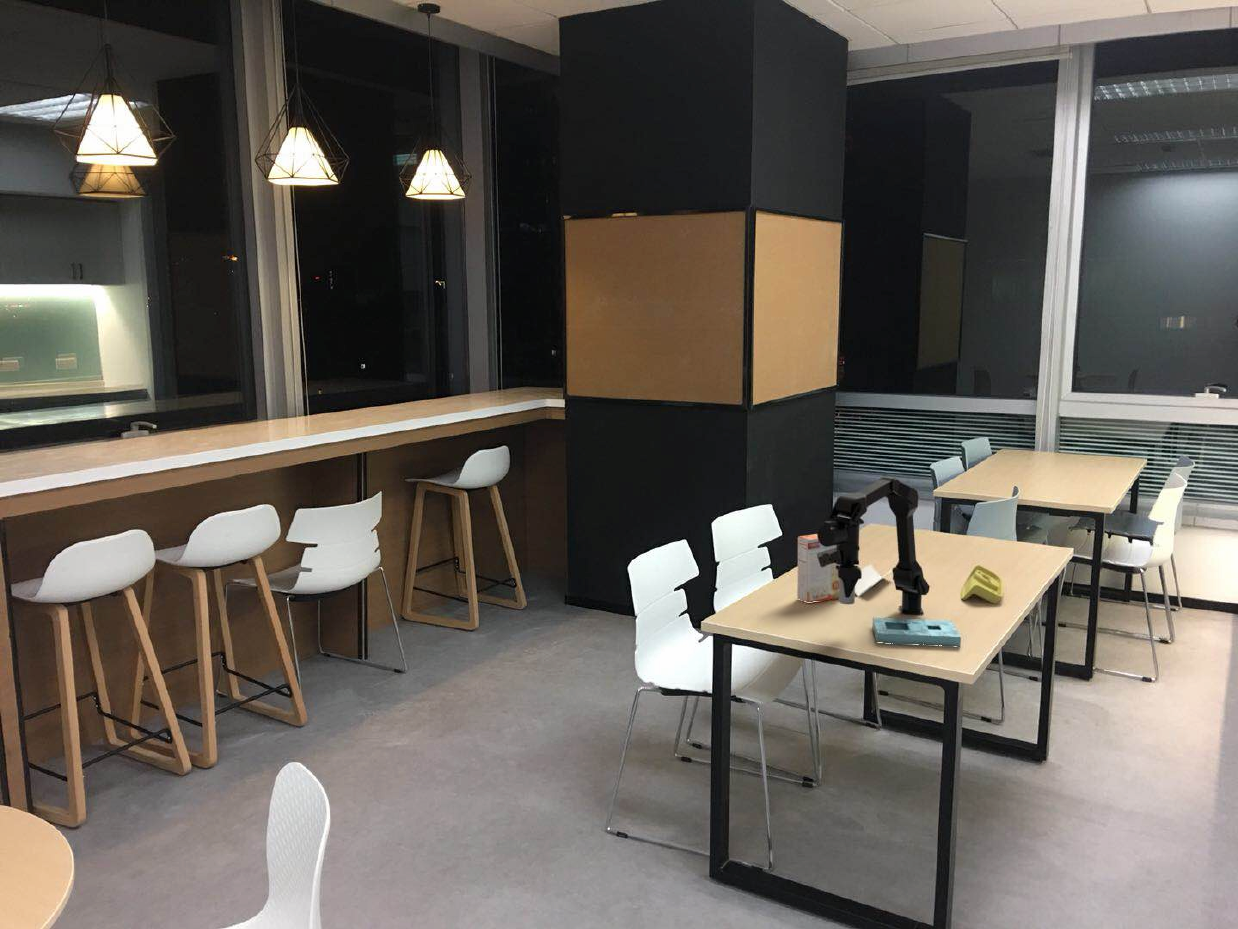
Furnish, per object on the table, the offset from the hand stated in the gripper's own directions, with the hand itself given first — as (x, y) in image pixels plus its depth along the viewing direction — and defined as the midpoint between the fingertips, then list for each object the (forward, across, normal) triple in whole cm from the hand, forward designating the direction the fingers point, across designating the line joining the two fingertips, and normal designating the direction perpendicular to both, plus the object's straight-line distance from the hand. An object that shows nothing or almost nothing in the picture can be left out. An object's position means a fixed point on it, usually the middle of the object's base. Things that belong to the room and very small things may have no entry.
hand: (846, 595), depth 274 cm
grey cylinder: (+2, 0, 0) cm, 2 cm away
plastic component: (+12, -45, +46) cm, 65 cm away
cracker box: (+12, -33, -6) cm, 36 cm away
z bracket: (+12, -50, +9) cm, 52 cm away
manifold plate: (+12, 0, +19) cm, 22 cm away
